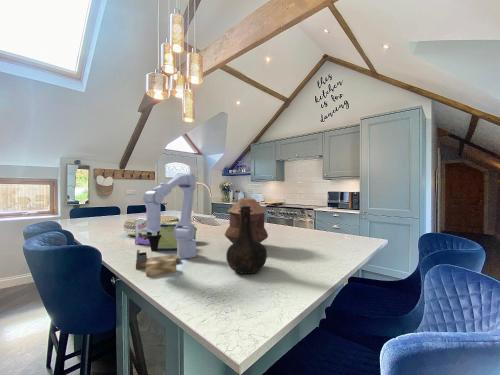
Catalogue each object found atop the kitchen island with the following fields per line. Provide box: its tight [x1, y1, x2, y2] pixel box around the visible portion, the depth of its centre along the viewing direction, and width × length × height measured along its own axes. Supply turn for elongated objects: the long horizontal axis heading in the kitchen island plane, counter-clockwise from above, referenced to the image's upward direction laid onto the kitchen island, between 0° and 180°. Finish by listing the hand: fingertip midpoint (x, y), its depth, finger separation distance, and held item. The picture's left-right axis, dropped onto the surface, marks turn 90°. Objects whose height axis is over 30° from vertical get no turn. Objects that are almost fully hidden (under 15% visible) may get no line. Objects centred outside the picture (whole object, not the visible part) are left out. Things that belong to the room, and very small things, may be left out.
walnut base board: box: [135, 253, 180, 270], centre depth 112 cm, size 19×7×2 cm, turn 115°
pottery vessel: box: [224, 197, 269, 244], centre depth 139 cm, size 26×26×30 cm
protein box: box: [156, 221, 179, 252], centre depth 141 cm, size 10×16×16 cm
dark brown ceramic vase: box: [225, 206, 268, 274], centre depth 103 cm, size 18×18×28 cm
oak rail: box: [145, 258, 177, 277], centre depth 101 cm, size 12×4×5 cm, turn 115°
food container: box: [193, 225, 198, 240], centre depth 155 cm, size 12×6×10 cm, turn 168°
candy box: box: [134, 217, 150, 246], centre depth 154 cm, size 14×6×16 cm, turn 80°
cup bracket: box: [136, 249, 148, 263], centre depth 109 cm, size 4×6×4 cm
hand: (153, 249), depth 103 cm, fingers open, 7 cm apart
